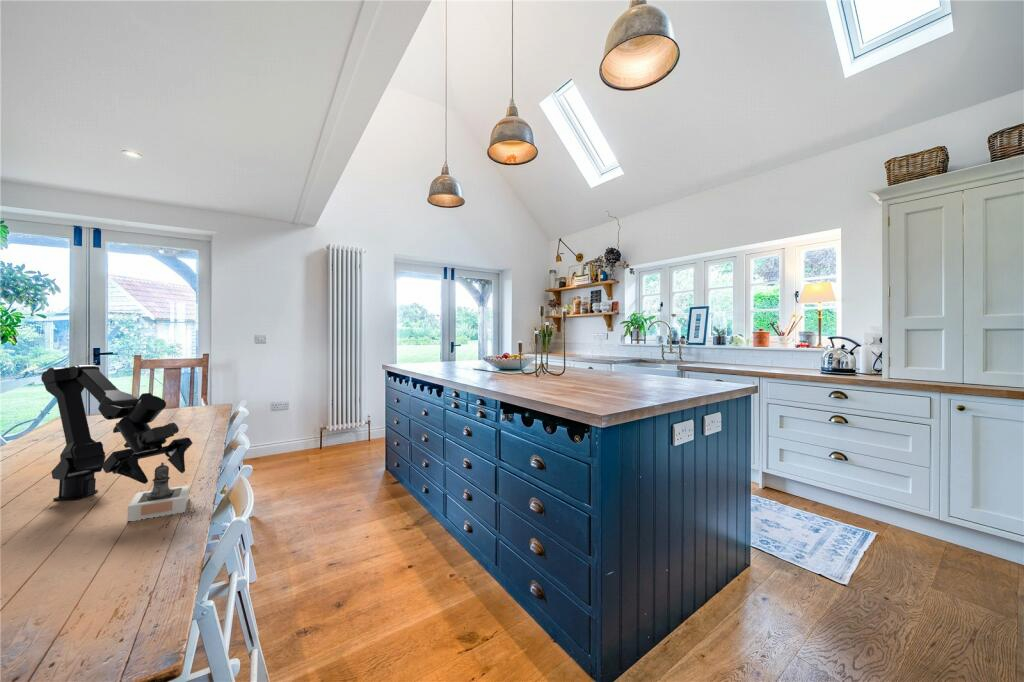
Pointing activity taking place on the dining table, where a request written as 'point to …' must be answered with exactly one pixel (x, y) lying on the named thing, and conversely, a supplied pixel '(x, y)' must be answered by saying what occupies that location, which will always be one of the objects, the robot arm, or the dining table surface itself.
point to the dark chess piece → (160, 484)
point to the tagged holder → (158, 505)
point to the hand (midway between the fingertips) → (165, 477)
